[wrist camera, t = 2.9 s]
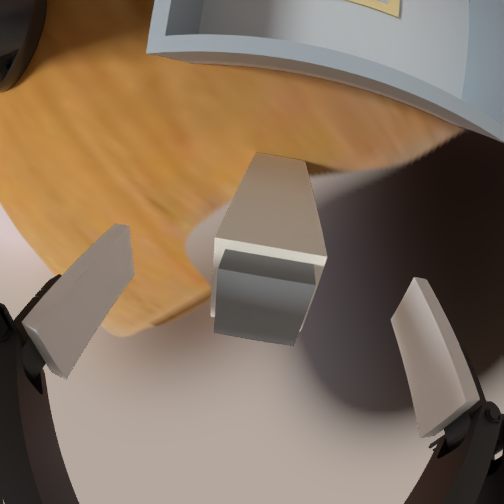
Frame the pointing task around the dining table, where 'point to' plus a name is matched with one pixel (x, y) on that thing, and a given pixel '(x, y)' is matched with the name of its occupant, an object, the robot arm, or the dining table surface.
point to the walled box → (355, 47)
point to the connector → (268, 253)
